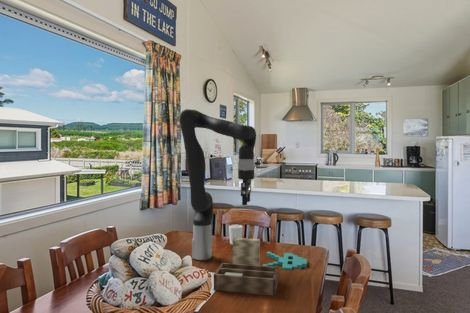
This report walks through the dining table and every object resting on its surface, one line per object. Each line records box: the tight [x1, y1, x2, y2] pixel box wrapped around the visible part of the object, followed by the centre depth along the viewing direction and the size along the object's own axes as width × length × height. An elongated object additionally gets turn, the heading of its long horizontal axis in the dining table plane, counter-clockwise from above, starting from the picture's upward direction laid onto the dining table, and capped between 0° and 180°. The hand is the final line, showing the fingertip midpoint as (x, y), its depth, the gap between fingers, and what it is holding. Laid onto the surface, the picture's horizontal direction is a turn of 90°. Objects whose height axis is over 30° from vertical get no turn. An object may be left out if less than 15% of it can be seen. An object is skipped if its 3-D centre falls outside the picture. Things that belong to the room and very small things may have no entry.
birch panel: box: [232, 237, 261, 266], centre depth 149 cm, size 12×3×15 cm, turn 78°
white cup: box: [228, 224, 243, 246], centre depth 191 cm, size 8×8×10 cm
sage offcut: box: [224, 272, 243, 276], centre depth 131 cm, size 7×4×5 cm, turn 78°
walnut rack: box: [213, 262, 279, 296], centre depth 133 cm, size 24×13×7 cm, turn 78°
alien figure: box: [262, 251, 308, 271], centre depth 159 cm, size 20×2×20 cm
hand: (246, 203), depth 154 cm, fingers open, 8 cm apart
